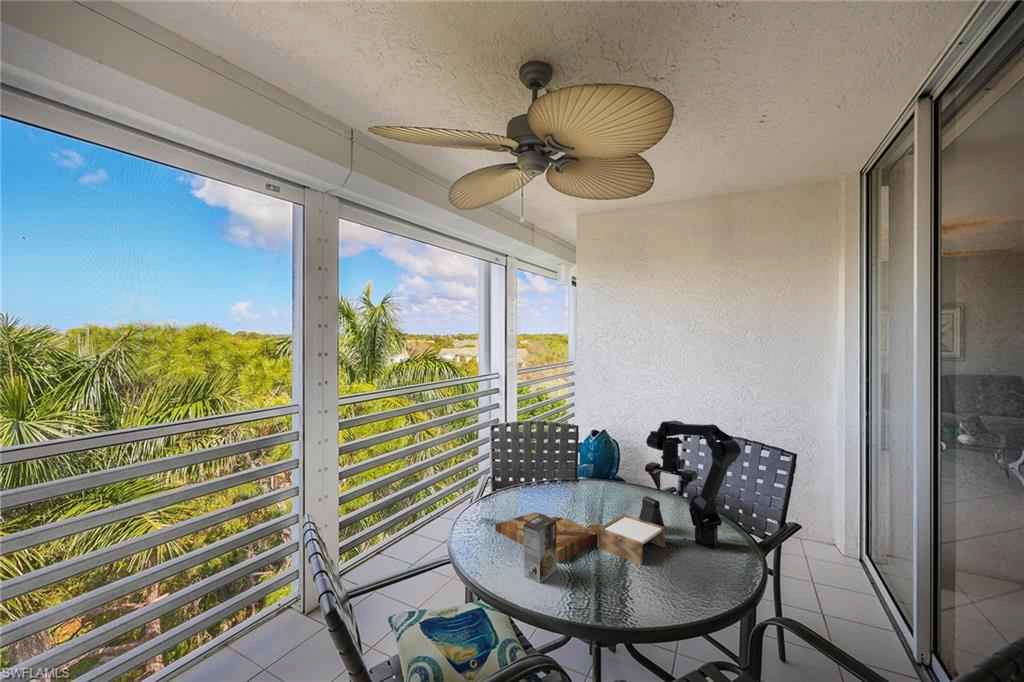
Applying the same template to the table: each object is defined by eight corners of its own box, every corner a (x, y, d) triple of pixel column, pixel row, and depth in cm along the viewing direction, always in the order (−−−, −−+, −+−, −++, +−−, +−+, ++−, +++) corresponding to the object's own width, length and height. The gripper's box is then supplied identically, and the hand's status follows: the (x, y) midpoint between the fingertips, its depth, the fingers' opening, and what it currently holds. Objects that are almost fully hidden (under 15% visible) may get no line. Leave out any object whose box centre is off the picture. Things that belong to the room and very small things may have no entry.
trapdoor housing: (665, 545, 152) (665, 527, 152) (640, 565, 139) (640, 544, 139) (623, 531, 163) (623, 514, 163) (597, 547, 150) (597, 529, 150)
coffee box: (540, 564, 140) (540, 514, 139) (557, 571, 135) (557, 519, 135) (522, 576, 133) (522, 523, 132) (540, 584, 128) (540, 529, 128)
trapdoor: (661, 536, 151) (661, 528, 151) (641, 550, 141) (641, 542, 141) (625, 524, 160) (625, 516, 160) (604, 537, 150) (604, 528, 150)
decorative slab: (599, 545, 153) (599, 531, 153) (555, 565, 139) (555, 550, 139) (536, 516, 178) (536, 504, 178) (494, 531, 164) (494, 518, 164)
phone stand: (653, 524, 169) (653, 493, 169) (665, 530, 163) (665, 499, 163) (636, 529, 165) (636, 497, 165) (647, 536, 159) (647, 503, 159)
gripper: (703, 453, 168) (703, 494, 168) (657, 445, 181) (657, 483, 181) (691, 459, 160) (691, 502, 160) (644, 450, 173) (644, 489, 173)
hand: (670, 493), depth 169 cm, fingers open, 9 cm apart
